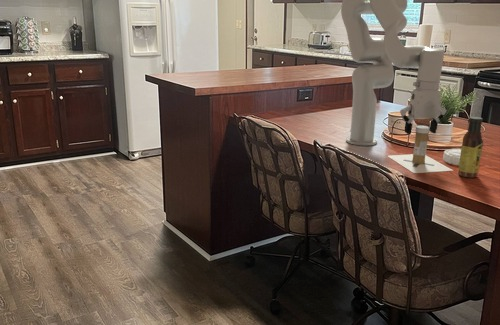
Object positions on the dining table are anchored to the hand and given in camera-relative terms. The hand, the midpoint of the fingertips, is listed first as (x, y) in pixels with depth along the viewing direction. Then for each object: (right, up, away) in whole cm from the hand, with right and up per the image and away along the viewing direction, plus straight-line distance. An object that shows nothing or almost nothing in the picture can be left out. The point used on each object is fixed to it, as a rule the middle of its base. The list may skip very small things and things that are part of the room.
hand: (420, 132), depth 175 cm
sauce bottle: (+13, -15, -10) cm, 22 cm away
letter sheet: (0, -11, +3) cm, 11 cm away
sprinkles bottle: (0, -11, +3) cm, 11 cm away
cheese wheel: (+17, -11, +6) cm, 20 cm away
